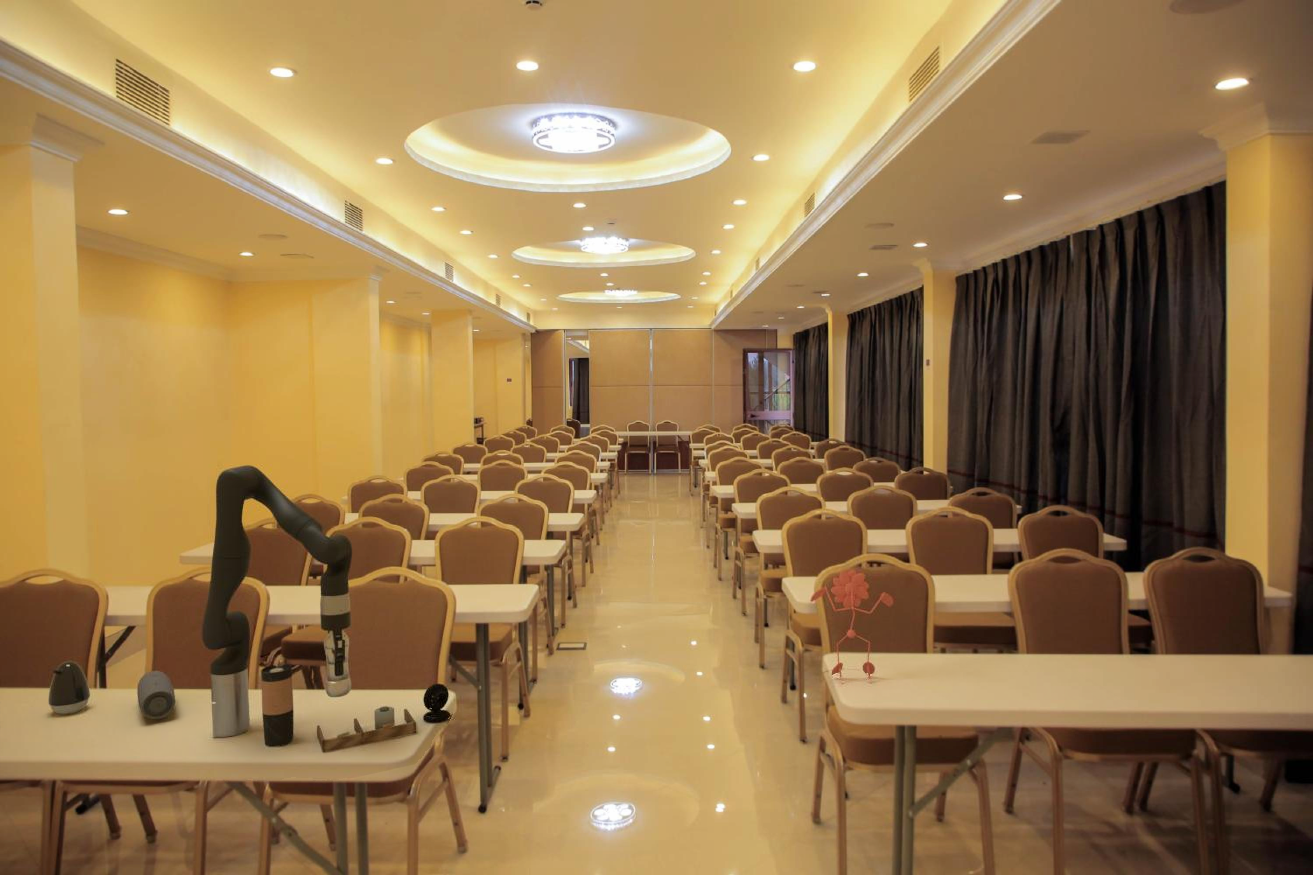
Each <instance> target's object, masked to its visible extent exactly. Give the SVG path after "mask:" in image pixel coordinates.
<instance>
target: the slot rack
mask: <svg viewBox="0 0 1313 875" xmlns="http://www.w3.org/2000/svg"><path fill="white" fill-rule="evenodd" d="M403 716H404V717H403V719H404V720H403V721H405V723H402V724H397V725H396V724H394V723H392V724H386V725H383V728H381V729H376V730H375V729H373V730H371V729H370V730H367V731H364V730H363V728H362V727H361V724H360V722H359V720H358V718H353V729H354V732H355V733H351V734H350V732H349V731H347V732H346V731H345V732H341V733H336V737H331V738H326V739H325V737H324V733H323V732H322V729H321V726H320V725H316V738H317V740H318V743H319V746H320V748H321V752H322V753H326V752H331V751H337V750H340V749H346V748H347V749H348V748H351V747H356V746H360V745H361V746H362V745H366V744H371V743H376V742H380V741H381V742H382V741H385V740H390V739H395V738H400V737H405V736H410V735H416V734H417V722H416V720H415V719H414V718H413V716H412V715H411V713H410V712H409V710H408V708H404V709H403Z"/></svg>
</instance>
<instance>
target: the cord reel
mask: <svg viewBox="0 0 1313 875" xmlns="http://www.w3.org/2000/svg"><path fill="white" fill-rule="evenodd" d="M395 721H396V720H395V707H392V706H386V705H385V706H380V707H378V708H376V709H375V710H374V730H376V729H381V728H383V725H386V724H392V723H394V724H395ZM395 725H396V724H395Z"/></svg>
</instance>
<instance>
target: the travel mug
mask: <svg viewBox="0 0 1313 875" xmlns="http://www.w3.org/2000/svg"><path fill="white" fill-rule="evenodd" d="M260 670H261V672H260V675H261V680H260V681H261V710H262V712H261V714H262V726H263V728H262V729H263V739H264V745H265V746H267V747H271V748H272V747H275V748H276V747H281V746H285V745H288V744H290V743H292V742H293V740H294V694H293V693H294V691H293V690H294V689H293V673H292V672H293V671H292V665H290V664H286V663H285V664H283V665H281V666H277V665H274V664H273V665H269V666H265V667H263V668H262V669H260Z"/></svg>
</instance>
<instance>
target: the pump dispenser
mask: <svg viewBox="0 0 1313 875" xmlns="http://www.w3.org/2000/svg"><path fill="white" fill-rule="evenodd" d="M51 672H52V673H53V677H52V678H51V682H50V687H49V691H48V702H47V703H48V705H49V706H50V708H51V710H52V711H53V712H54V713H56V714H57V715H65V716H66V715H71V714H75V713H78V712H80V711H82V710H83V709H85V707H86V706H87V704H88V702H89V698H90V697H91V692H90V686H89V682H88V680H87V677H86V674H85V672H84V671H83V669H82V667H81V666H80V665H79V664H78V663H77V662H76V661H71V660H69V661H64V662H62V663H60V664H59V666H58V667H57V668H56V669H52V671H51Z"/></svg>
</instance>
